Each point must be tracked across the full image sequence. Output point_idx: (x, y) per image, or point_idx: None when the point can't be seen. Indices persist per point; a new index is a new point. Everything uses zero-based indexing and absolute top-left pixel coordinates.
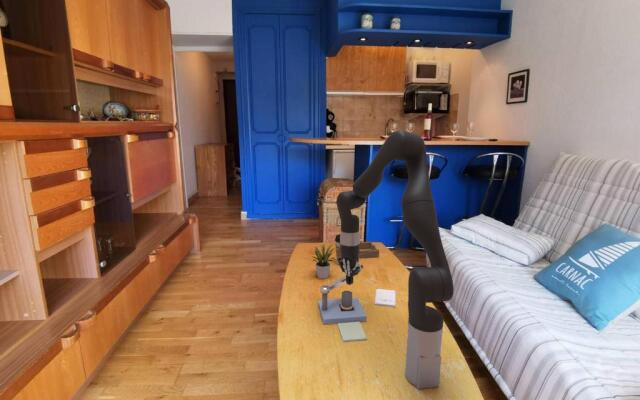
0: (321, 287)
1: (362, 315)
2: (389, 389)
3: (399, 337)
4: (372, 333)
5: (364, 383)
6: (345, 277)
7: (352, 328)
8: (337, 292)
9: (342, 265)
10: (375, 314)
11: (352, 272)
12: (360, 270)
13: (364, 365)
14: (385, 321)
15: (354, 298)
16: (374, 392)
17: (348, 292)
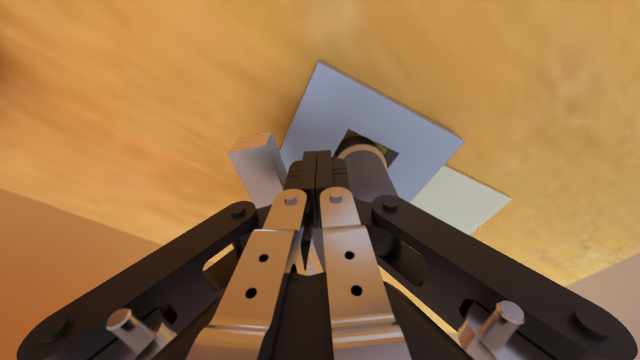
0: None
1: (447, 152)
2: (626, 251)
3: (621, 102)
4: (510, 163)
5: (566, 270)
6: (266, 185)
7: (446, 202)
8: (184, 84)
9: (215, 294)
10: (457, 62)
11: (397, 276)
12: (496, 256)
13: (546, 248)
14: (526, 65)
15: (317, 85)
16: (595, 270)
17: (370, 198)
